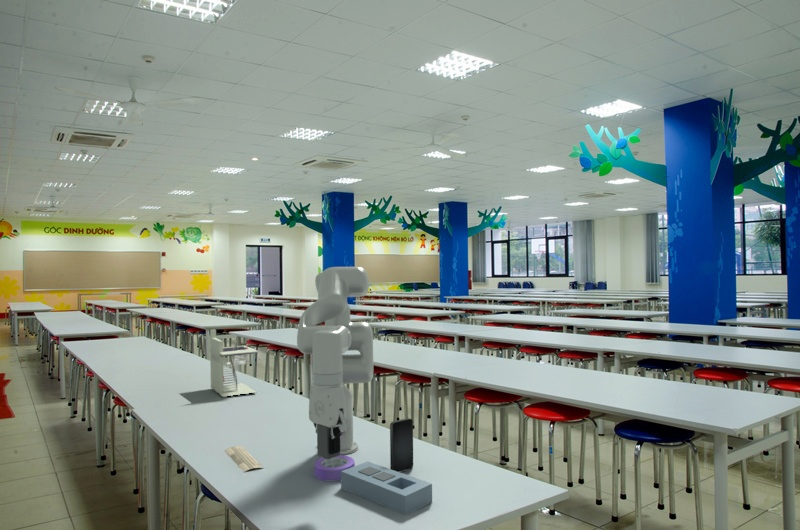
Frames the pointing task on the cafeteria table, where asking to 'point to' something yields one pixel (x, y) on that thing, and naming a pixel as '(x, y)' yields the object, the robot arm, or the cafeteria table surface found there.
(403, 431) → the phone
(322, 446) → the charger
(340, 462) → the masking tape
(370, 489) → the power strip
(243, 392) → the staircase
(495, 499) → the cafeteria table surface
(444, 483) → the cafeteria table surface
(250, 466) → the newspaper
